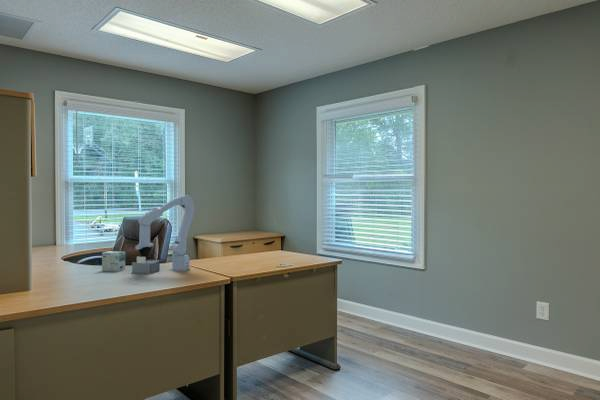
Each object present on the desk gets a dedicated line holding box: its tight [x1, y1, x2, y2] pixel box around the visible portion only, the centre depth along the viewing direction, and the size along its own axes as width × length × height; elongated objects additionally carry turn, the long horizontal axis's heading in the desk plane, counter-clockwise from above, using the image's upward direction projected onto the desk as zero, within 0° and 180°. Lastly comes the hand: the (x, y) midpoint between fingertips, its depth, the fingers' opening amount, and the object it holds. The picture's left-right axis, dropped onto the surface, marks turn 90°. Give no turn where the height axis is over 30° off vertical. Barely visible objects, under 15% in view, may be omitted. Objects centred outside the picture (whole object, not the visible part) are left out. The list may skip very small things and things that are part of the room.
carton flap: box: [131, 256, 151, 275], centre depth 233 cm, size 11×1×9 cm, turn 77°
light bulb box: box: [101, 250, 126, 272], centre depth 241 cm, size 11×7×11 cm, turn 84°
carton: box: [135, 260, 161, 274], centre depth 238 cm, size 11×9×6 cm
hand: (144, 260), depth 236 cm, fingers closed
